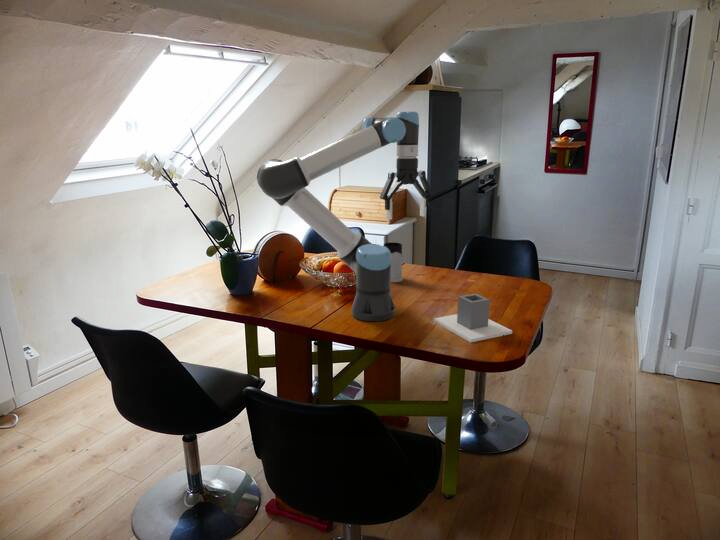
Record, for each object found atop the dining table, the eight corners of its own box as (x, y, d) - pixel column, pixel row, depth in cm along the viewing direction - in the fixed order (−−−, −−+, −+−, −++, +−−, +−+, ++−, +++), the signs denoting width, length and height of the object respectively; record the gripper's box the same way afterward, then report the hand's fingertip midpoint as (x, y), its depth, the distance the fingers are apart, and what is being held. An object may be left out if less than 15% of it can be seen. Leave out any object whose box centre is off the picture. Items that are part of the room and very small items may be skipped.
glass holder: (385, 283, 225) (386, 247, 221) (375, 273, 238) (375, 240, 234) (405, 281, 228) (406, 246, 223) (394, 272, 241) (395, 238, 237)
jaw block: (470, 329, 173) (471, 302, 170) (457, 322, 179) (458, 296, 176) (487, 326, 176) (489, 299, 173) (474, 319, 182) (475, 293, 179)
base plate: (470, 342, 165) (471, 321, 164) (433, 321, 183) (434, 302, 181) (512, 333, 172) (513, 313, 170) (473, 313, 190) (474, 295, 188)
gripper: (380, 159, 183) (380, 222, 189) (443, 156, 193) (441, 216, 199) (370, 157, 190) (370, 218, 196) (432, 155, 200) (430, 213, 206)
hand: (406, 217), depth 197 cm, fingers open, 13 cm apart
